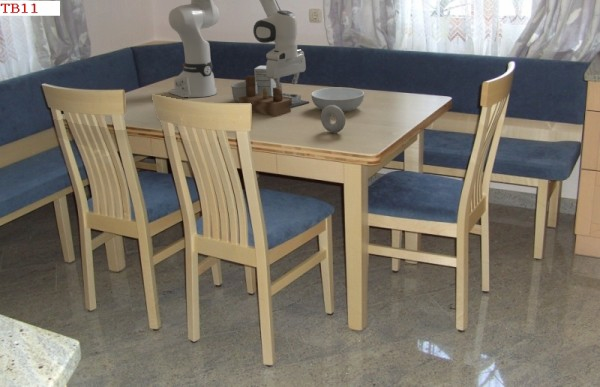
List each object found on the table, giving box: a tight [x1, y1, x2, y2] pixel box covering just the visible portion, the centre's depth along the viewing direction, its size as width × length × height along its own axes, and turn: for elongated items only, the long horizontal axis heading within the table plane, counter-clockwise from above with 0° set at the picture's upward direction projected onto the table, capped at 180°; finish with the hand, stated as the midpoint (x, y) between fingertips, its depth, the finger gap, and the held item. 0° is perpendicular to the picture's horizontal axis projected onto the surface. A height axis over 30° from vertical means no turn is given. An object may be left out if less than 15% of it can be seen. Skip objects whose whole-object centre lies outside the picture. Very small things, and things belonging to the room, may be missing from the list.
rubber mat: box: [291, 99, 310, 109], centre depth 306 cm, size 12×12×1 cm
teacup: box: [230, 80, 258, 104], centre depth 311 cm, size 14×11×8 cm
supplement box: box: [253, 65, 276, 96], centre depth 318 cm, size 7×7×13 cm
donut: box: [320, 105, 346, 134], centre depth 261 cm, size 10×4×10 cm, turn 51°
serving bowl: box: [310, 86, 365, 113], centre depth 293 cm, size 21×21×7 cm
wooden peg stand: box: [238, 74, 292, 117], centre depth 294 cm, size 20×9×13 cm, turn 48°
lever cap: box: [282, 92, 302, 105], centre depth 305 cm, size 9×5×4 cm, turn 48°
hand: (286, 86), depth 304 cm, fingers open, 8 cm apart
